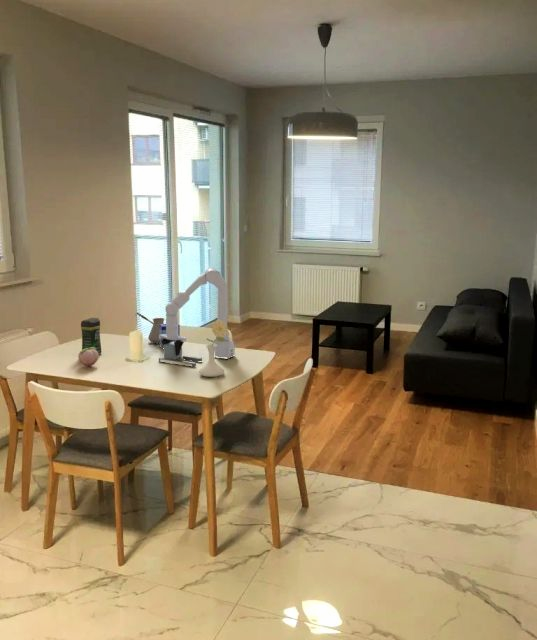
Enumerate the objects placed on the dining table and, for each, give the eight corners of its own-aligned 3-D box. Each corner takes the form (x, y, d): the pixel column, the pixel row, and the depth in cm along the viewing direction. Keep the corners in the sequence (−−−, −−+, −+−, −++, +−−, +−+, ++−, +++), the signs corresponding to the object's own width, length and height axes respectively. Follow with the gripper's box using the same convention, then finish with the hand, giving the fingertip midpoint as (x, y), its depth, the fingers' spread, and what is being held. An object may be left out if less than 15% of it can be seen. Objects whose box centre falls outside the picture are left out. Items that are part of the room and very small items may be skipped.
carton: (182, 356, 303) (181, 342, 302) (172, 360, 296) (172, 346, 295) (173, 355, 306) (172, 341, 304) (163, 358, 299) (163, 345, 297)
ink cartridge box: (162, 349, 318) (161, 322, 315) (159, 346, 323) (158, 319, 320) (180, 347, 322) (180, 320, 319) (177, 345, 327) (176, 318, 324)
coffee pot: (174, 341, 334) (173, 314, 331) (160, 346, 325) (160, 318, 322) (143, 336, 345) (142, 310, 341) (129, 341, 335) (128, 314, 332)
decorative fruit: (89, 363, 291) (88, 342, 289) (102, 365, 288) (101, 345, 285) (74, 368, 283) (73, 347, 281) (87, 370, 279) (86, 349, 277)
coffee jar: (93, 358, 300) (91, 321, 296) (79, 356, 302) (77, 319, 299) (104, 353, 309) (102, 317, 306) (90, 352, 312) (88, 316, 308)
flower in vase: (201, 379, 267) (200, 323, 262) (197, 372, 278) (196, 318, 273) (230, 377, 271) (230, 322, 266) (225, 370, 282) (225, 317, 276)
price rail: (205, 362, 294) (205, 358, 294) (193, 367, 285) (193, 363, 285) (170, 357, 303) (170, 353, 303) (158, 362, 294) (158, 358, 294)
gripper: (154, 327, 297) (155, 354, 300) (179, 330, 291) (180, 358, 294) (163, 324, 304) (164, 351, 306) (188, 327, 297) (188, 354, 300)
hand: (172, 354), depth 301 cm, fingers closed on carton, 5 cm apart
